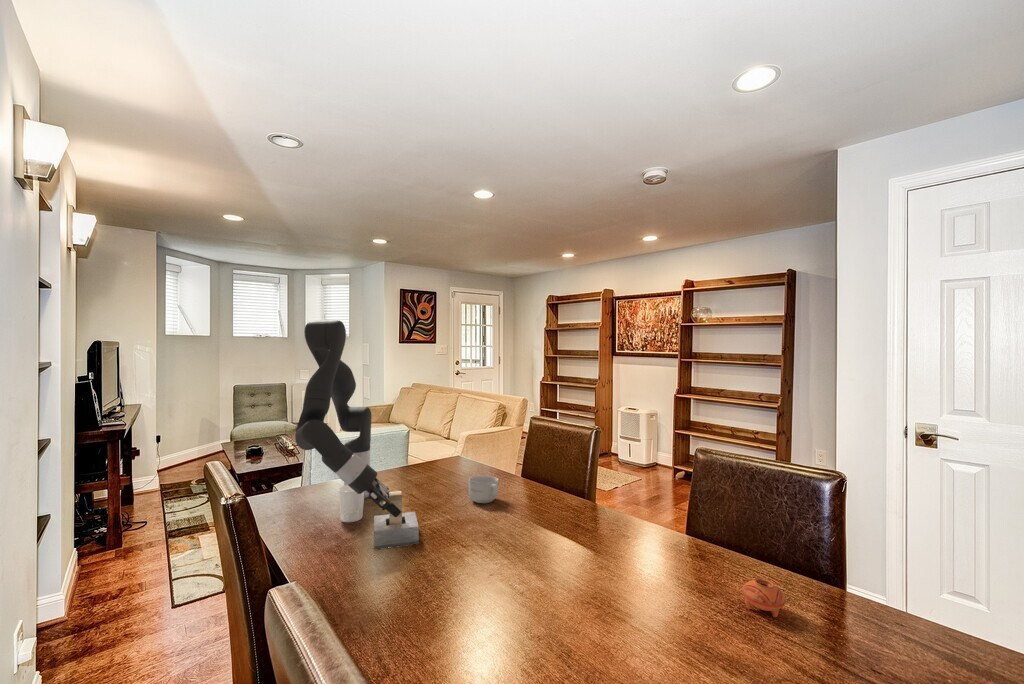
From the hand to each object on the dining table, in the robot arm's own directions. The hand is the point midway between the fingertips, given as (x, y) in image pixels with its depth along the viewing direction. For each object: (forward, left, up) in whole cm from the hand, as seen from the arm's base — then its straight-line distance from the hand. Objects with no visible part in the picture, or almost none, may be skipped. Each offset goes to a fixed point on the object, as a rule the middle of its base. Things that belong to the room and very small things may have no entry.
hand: (397, 509), depth 131 cm
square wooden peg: (0, -1, -7) cm, 7 cm away
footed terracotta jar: (+60, +71, -9) cm, 94 cm away
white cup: (-20, -14, -9) cm, 26 cm away
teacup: (-22, +31, -9) cm, 39 cm away
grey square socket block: (0, -1, -8) cm, 8 cm away
